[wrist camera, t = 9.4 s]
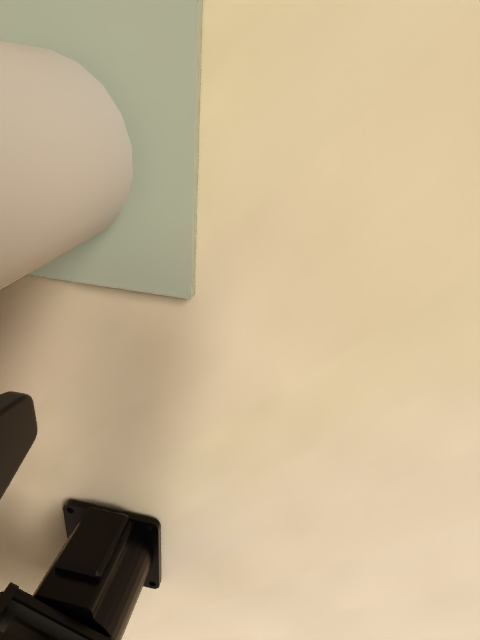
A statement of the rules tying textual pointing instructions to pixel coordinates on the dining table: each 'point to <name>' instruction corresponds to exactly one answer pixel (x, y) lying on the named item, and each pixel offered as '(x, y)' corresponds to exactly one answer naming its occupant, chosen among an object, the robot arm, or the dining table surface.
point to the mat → (133, 130)
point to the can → (55, 158)
